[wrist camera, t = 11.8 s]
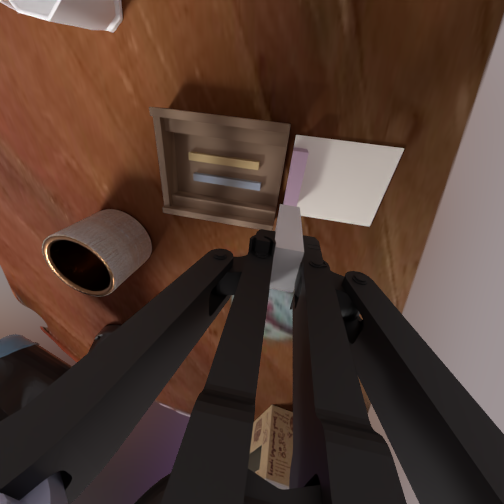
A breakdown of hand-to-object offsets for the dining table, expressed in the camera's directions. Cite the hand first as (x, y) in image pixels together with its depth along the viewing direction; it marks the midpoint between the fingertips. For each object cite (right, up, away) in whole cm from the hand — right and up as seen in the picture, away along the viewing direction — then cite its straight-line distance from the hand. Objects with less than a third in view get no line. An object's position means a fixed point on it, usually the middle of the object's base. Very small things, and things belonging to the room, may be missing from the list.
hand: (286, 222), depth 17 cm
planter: (-25, 0, +21) cm, 33 cm away
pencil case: (-6, +9, +12) cm, 16 cm away
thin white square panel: (+8, +7, +11) cm, 15 cm away
